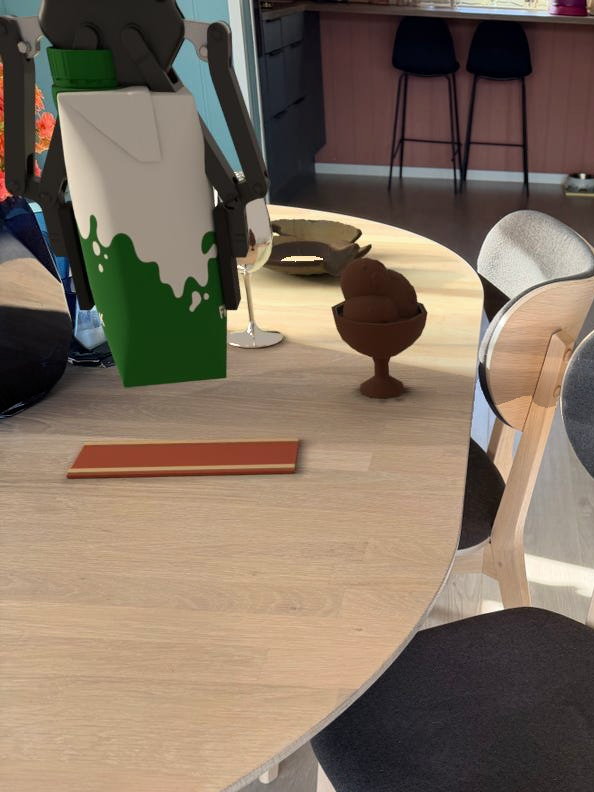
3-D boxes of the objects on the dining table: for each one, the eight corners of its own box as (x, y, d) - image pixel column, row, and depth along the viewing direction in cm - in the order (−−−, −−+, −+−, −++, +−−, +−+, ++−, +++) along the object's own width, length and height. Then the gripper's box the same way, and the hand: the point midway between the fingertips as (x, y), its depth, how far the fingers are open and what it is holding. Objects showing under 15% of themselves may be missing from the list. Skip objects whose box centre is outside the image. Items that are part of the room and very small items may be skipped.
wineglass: (212, 340, 124) (187, 176, 112) (254, 326, 129) (235, 167, 118) (253, 353, 121) (232, 184, 109) (295, 337, 126) (280, 175, 114)
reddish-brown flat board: (67, 478, 91) (65, 474, 91) (87, 444, 97) (86, 440, 97) (294, 473, 93) (294, 469, 93) (299, 439, 99) (299, 435, 99)
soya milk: (106, 352, 71) (40, 41, 59) (227, 342, 73) (187, 42, 61) (110, 394, 64) (37, 54, 52) (243, 382, 67) (202, 54, 55)
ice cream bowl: (381, 415, 105) (375, 277, 96) (318, 388, 111) (306, 257, 102) (446, 390, 111) (446, 259, 103) (383, 367, 117) (378, 241, 109)
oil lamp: (359, 247, 166) (357, 200, 161) (388, 295, 143) (386, 242, 138) (231, 252, 161) (225, 204, 157) (240, 303, 138) (233, 248, 133)
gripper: (-141, -109, 49) (-17, 321, 62) (284, -93, 51) (315, 321, 64) (-85, -103, 55) (17, 288, 68) (293, -89, 57) (320, 289, 70)
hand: (162, 304), depth 66 cm, fingers closed on soya milk, 9 cm apart
